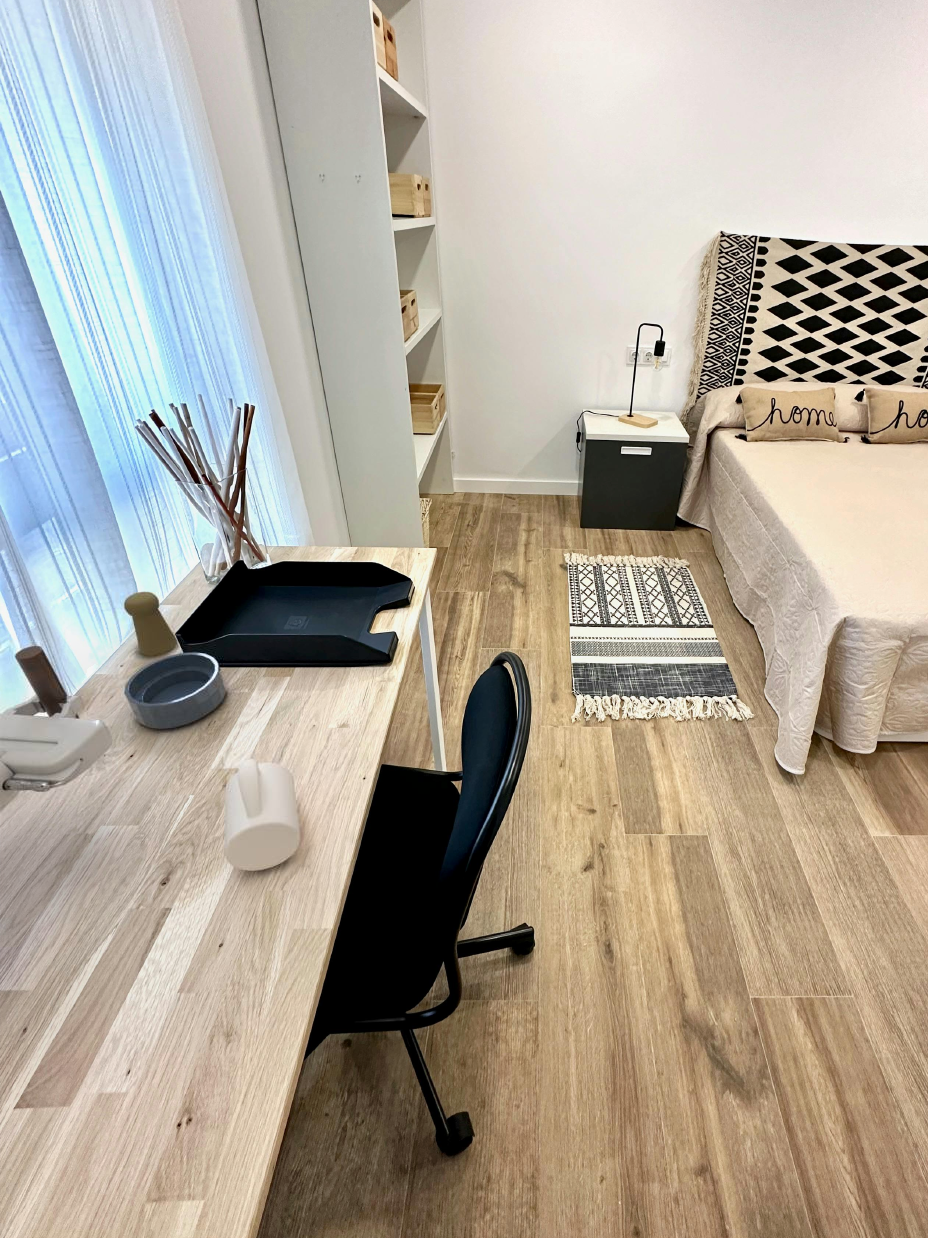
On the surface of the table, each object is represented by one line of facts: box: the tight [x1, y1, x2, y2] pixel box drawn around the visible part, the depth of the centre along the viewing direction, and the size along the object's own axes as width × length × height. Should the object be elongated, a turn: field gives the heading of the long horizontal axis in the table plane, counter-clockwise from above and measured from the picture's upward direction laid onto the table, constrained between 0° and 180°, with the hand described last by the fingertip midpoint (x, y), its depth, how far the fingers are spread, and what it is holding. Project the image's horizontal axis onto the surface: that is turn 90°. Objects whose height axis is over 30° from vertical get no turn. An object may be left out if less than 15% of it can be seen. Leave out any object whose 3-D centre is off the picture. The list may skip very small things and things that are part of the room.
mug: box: [224, 758, 301, 872], centre depth 77 cm, size 8×10×12 cm
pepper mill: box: [123, 591, 178, 657], centre depth 110 cm, size 6×6×11 cm
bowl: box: [123, 651, 227, 730], centre depth 99 cm, size 13×13×6 cm
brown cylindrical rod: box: [14, 645, 81, 719], centre depth 77 cm, size 3×3×18 cm
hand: (61, 698), depth 77 cm, fingers closed on brown cylindrical rod, 2 cm apart
